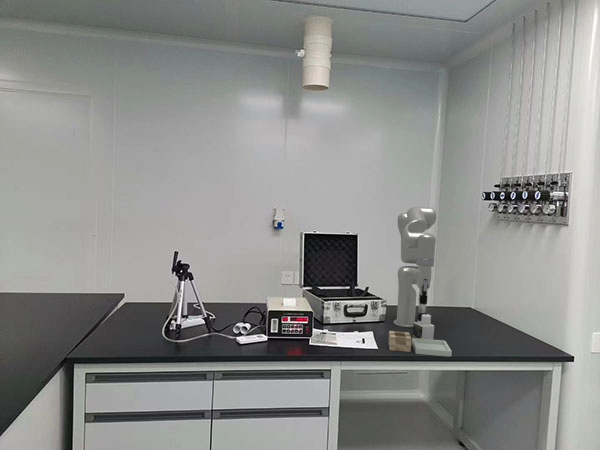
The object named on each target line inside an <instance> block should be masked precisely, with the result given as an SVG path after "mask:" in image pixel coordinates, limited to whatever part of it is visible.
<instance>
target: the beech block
mask: <svg viewBox="0 0 600 450" xmlns="http://www.w3.org/2000/svg"><path fill="white" fill-rule="evenodd" d="M388 347H389V348H388V349H389V351H398V352H406V353H407V352H408V353H411V352H412V351H411V350H412V336H411V334H410V332H407V331H405V332H404V331H394V330H389V332H388Z"/></svg>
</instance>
